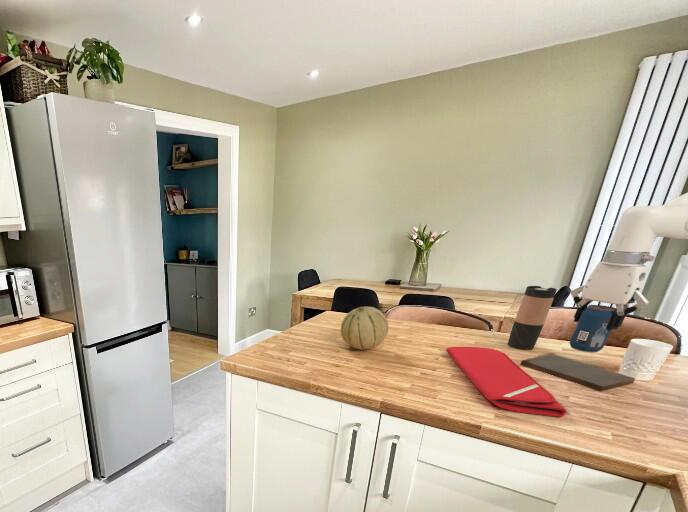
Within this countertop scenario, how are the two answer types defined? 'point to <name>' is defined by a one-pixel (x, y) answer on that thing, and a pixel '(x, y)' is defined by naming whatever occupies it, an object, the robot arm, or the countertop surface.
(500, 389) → the red folded napkin
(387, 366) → the countertop surface
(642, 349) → the white cup
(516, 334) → the travel mug
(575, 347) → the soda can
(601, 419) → the countertop surface
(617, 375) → the serving board
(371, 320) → the cantaloupe
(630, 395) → the countertop surface
